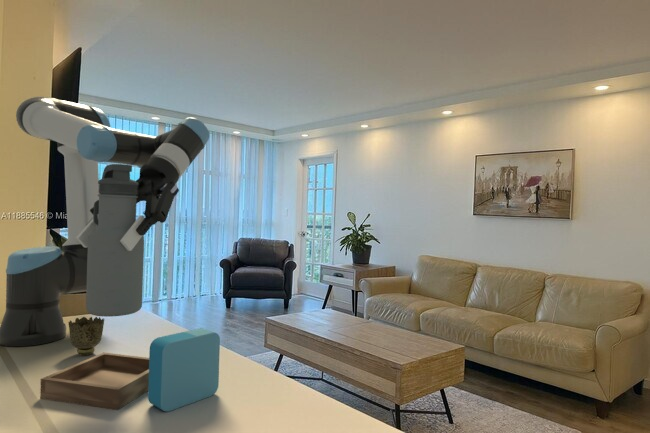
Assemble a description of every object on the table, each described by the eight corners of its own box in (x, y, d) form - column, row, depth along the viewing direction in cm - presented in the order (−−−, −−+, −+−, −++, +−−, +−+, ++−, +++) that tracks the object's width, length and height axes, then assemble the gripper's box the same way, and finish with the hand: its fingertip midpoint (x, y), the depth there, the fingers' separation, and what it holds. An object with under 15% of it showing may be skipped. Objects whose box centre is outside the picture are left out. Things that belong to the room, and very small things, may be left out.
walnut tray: (103, 368, 96) (103, 352, 96) (169, 377, 92) (170, 360, 92) (40, 398, 80) (40, 378, 80) (117, 409, 77) (117, 389, 77)
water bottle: (79, 308, 87) (83, 164, 86) (131, 303, 93) (136, 168, 92) (93, 320, 79) (98, 161, 78) (149, 313, 85) (154, 166, 85)
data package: (204, 387, 88) (206, 326, 88) (218, 393, 85) (220, 331, 85) (147, 406, 78) (149, 338, 78) (161, 414, 76) (163, 344, 76)
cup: (88, 360, 101) (89, 325, 101) (60, 357, 102) (61, 322, 102) (110, 350, 108) (111, 317, 108) (83, 347, 110) (84, 315, 109)
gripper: (215, 182, 96) (161, 261, 81) (133, 181, 104) (71, 253, 90) (200, 153, 91) (139, 233, 76) (115, 156, 99) (46, 228, 85)
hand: (102, 244), depth 83 cm, fingers closed on water bottle, 10 cm apart
